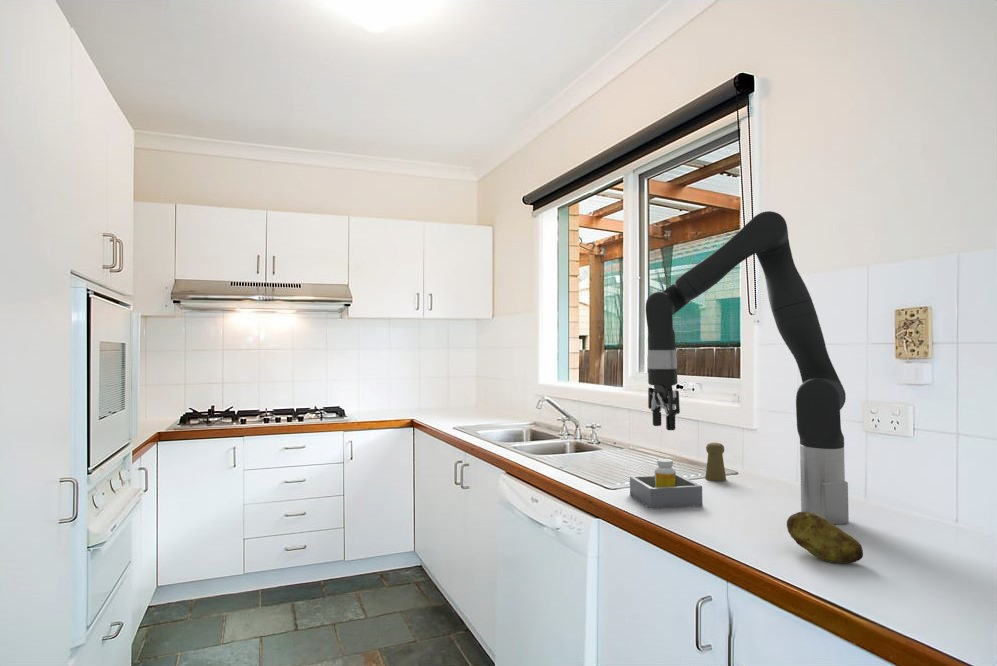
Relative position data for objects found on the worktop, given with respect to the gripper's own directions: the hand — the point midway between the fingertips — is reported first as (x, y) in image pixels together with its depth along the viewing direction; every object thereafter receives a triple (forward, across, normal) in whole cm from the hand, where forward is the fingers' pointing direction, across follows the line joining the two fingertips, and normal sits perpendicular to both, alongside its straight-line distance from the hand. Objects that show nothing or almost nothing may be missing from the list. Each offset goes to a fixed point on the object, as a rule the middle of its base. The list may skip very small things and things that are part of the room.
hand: (663, 427), depth 159 cm
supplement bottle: (+18, 0, 0) cm, 18 cm away
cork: (+19, +19, -25) cm, 37 cm away
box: (+19, 0, 0) cm, 19 cm away
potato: (+20, -45, -12) cm, 50 cm away
